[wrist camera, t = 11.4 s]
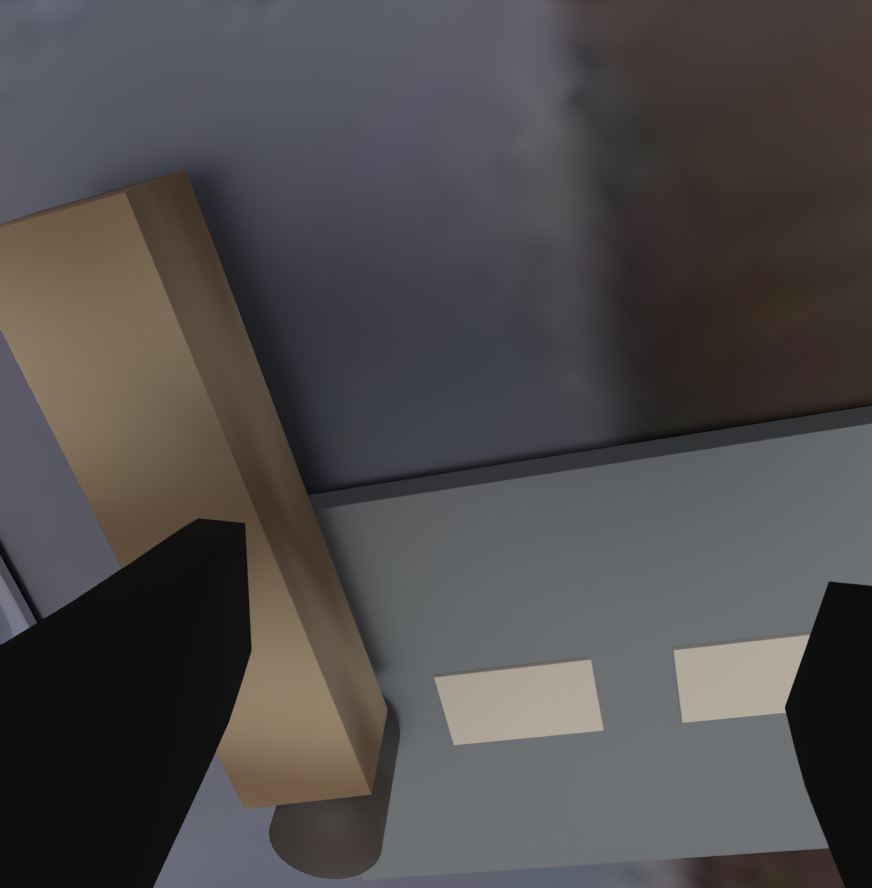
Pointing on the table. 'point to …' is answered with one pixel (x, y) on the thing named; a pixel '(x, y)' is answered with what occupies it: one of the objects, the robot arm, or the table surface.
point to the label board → (602, 642)
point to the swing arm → (204, 490)
